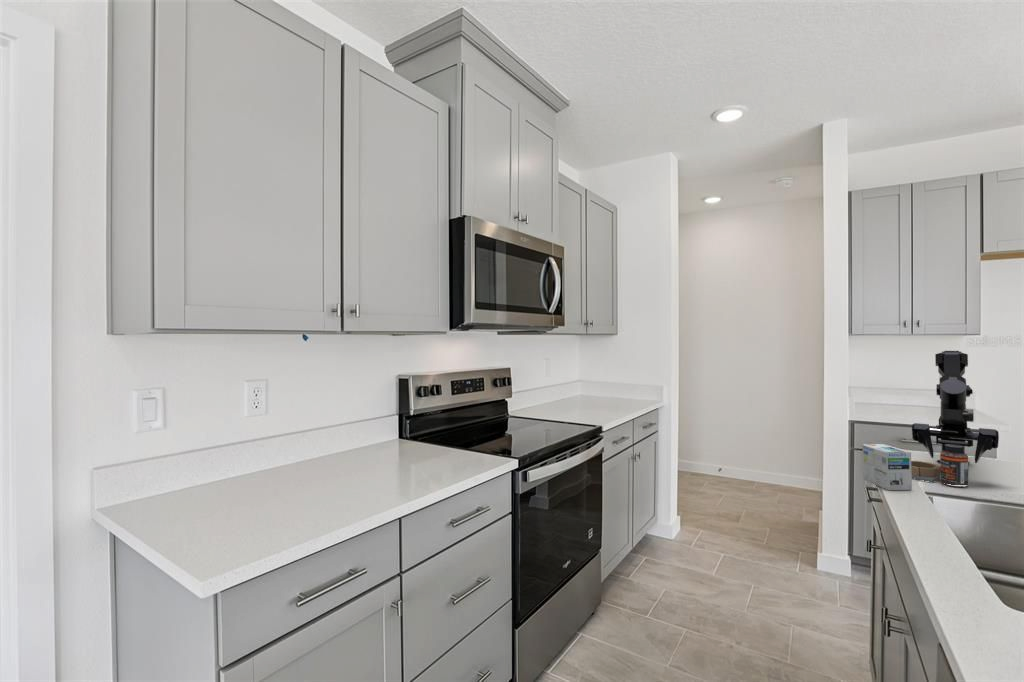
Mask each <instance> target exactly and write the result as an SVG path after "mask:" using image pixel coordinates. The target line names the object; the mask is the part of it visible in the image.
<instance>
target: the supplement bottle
mask: <svg viewBox="0 0 1024 682" xmlns="http://www.w3.org/2000/svg"><path fill="white" fill-rule="evenodd" d="M963 451H964V449H963V446H962V445H957V444H945V451H943V452H941V451H940V453H939V454H940V457H939V458H940V459H939V460H940V462H939V463H940V465H939V466H940V480H939V481H940V484H942V483H945V484H951V485H968V486H969V464H968V462H969V456H968V454H966V453H964V452H963Z"/></svg>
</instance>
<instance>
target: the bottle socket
mask: <svg viewBox="0 0 1024 682" xmlns="http://www.w3.org/2000/svg"><path fill="white" fill-rule="evenodd" d="M911 472H912V478H915V479H918V480H917V481H920V480H924V481H923V482H925V481H929V482H928V483H930V482H933V483H935V482H934V481H936V482H939V481H941V480H940V465H939V464H936V463H932V462H928V461H921V460H920V461H919V460H911ZM915 479H914V480H915ZM938 480H939V481H938Z"/></svg>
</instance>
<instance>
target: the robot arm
mask: <svg viewBox="0 0 1024 682" xmlns="http://www.w3.org/2000/svg"><path fill="white" fill-rule="evenodd" d="M934 357H935V367H938V368H937V369H938V370H937V371H938V374H940V376H941V377H939V379H938V380H939V383H937V384H936V396H939V399H940V415H939V418H938V424H937V425H935V428H930V424H929V423H917V422H916V423H915V422H914V423H912V425H911V435H912V440H913V441H915V442H918V444H921V445H923V446H924V448H925V449H926V450H927V453H928V454H929V456H930V458H931V459H934V458H935V457H934V455H935V454H934V447H933V442H932V437H935V441H936V442H935V445H941V451H940V453H941V452H943V451H945V444H957V445H962V446H963V449H964V451H963V452H964V453H965V452H966V449H965V448H966V447H968V448H971V447H974V441H976V447H975V454H974V463H975V464H977V463H978V462H979V461H980V459H981V457H982V456H983V454H984V453H985V452H987V451H991V450H993V449H997V448H998V449H999V438H1000V435H999V431H998V429H996V428H995V429H994V428H982V427H979V428H978V432H973V431H972V430H971V427H968V422H969V423H970V422H972V423H973V422H974V419H975V418H974V417H975V416H974V409H972V408H970V409H969V408H967V403H966V402H967V398H968V397H970V396H971V395H973V389H972V387H970V385H968V384H967V378H964V374H965V373H966V367H968V366H969V354H967V353H964V352H962V351H959V350H943V351H941V352H938V353H935V355H934ZM965 454H966V453H965ZM936 462H937V463H940V459H938V460H936ZM969 464H971V462H970V461H968V465H969Z"/></svg>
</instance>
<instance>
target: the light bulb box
mask: <svg viewBox="0 0 1024 682" xmlns="http://www.w3.org/2000/svg"><path fill="white" fill-rule="evenodd" d="M911 461H912V452H911V451H908V450H904V449H902V448H899V447H894V446H891V445H889V444H888V445H887V444H885V443H871V444H870V443H862V464H863V467H862V470H863V474H862V475H863V479H862V480H863V481H866V482H868V483H871V484H872V485H876V486H878V487H880V488H882V489H884V490H887V491H911V490H910V489H912V490H913V482H912V481H913V479H912V472H911Z"/></svg>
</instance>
